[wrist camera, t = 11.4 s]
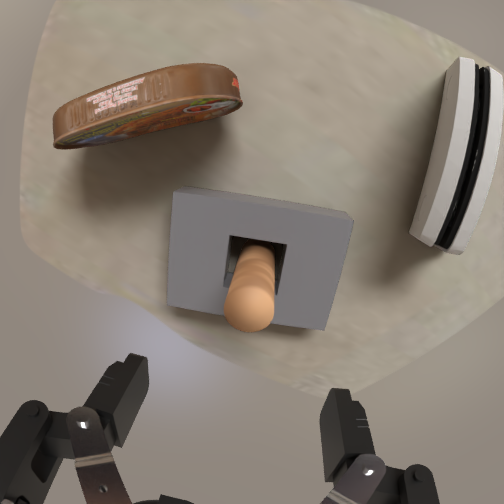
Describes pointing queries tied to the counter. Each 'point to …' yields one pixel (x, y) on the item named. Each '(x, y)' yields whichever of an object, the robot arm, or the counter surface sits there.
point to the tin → (147, 105)
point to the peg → (252, 288)
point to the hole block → (262, 228)
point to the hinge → (461, 157)
